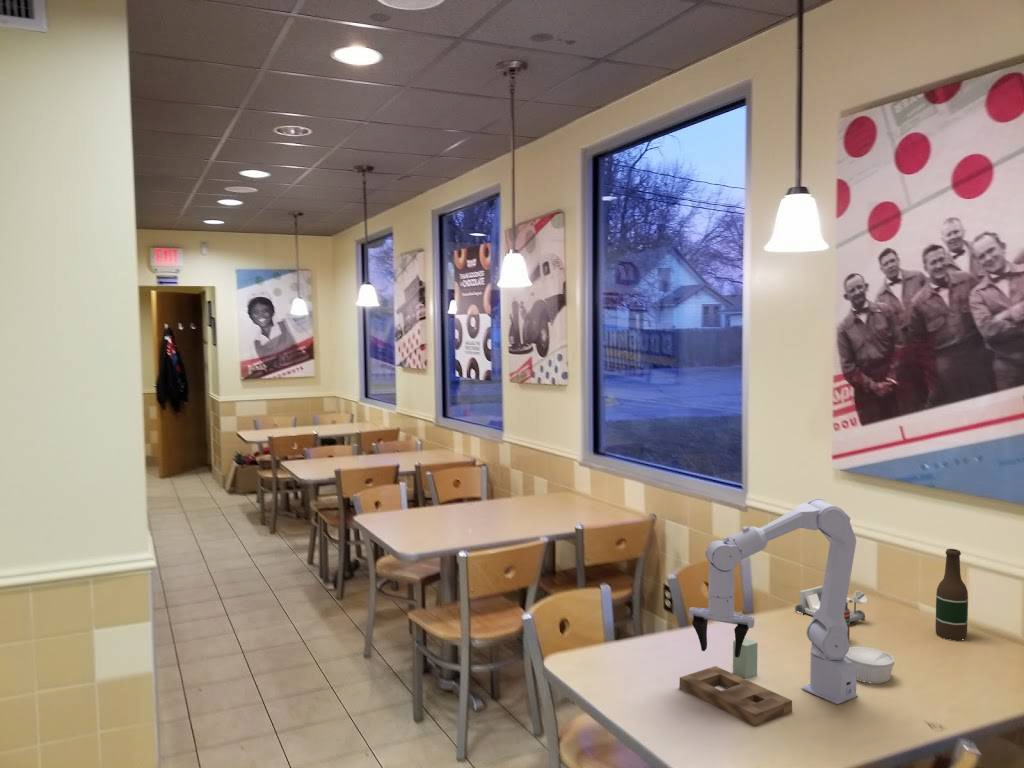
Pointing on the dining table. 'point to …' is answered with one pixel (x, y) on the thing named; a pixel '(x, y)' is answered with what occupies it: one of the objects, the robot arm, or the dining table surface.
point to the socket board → (736, 695)
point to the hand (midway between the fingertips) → (720, 652)
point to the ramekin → (871, 664)
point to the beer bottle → (952, 600)
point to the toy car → (813, 597)
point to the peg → (746, 659)
